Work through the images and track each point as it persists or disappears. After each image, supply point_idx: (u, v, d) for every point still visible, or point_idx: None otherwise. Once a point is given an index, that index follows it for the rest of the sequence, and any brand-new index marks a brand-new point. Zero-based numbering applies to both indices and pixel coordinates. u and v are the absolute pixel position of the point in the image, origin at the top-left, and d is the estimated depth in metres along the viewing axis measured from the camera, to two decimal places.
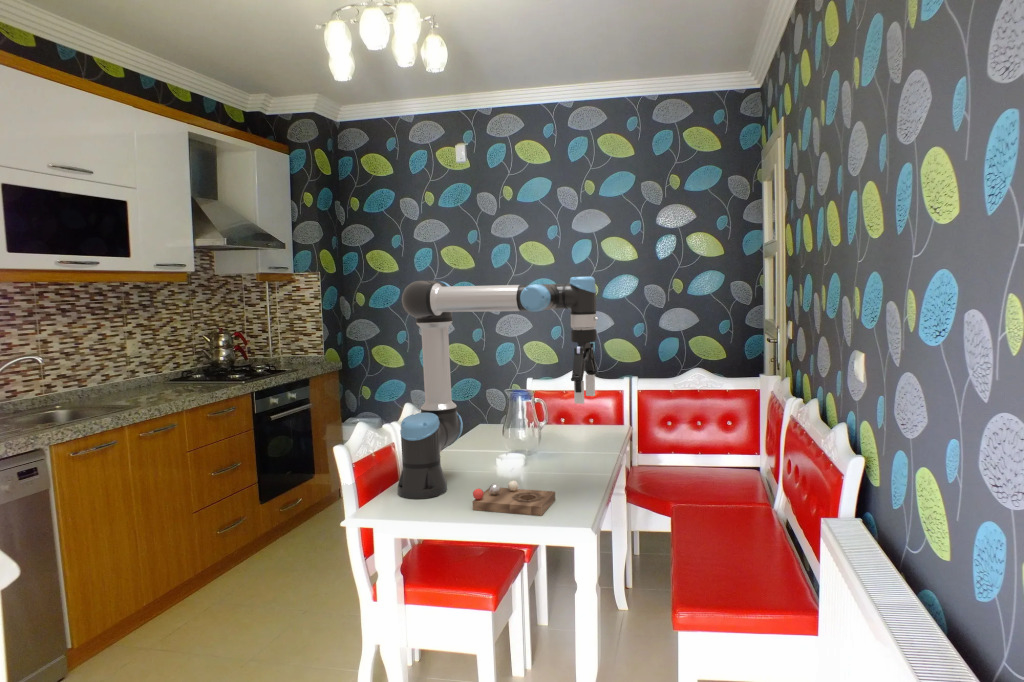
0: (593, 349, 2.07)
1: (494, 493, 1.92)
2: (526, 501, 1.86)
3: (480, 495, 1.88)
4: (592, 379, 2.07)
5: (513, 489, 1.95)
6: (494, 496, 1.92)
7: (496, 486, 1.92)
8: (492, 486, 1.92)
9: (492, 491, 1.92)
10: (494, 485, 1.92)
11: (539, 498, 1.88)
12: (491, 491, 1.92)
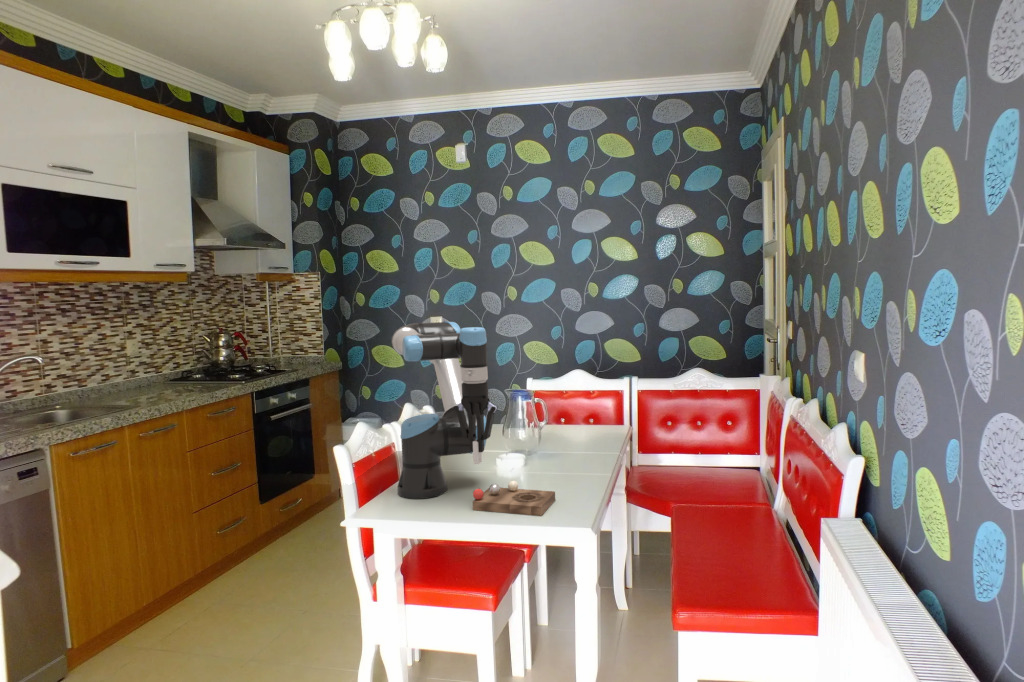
0: (491, 414, 1.90)
1: (494, 493, 1.92)
2: (526, 501, 1.86)
3: (480, 495, 1.88)
4: None
5: (513, 489, 1.95)
6: (494, 496, 1.92)
7: (496, 486, 1.92)
8: (492, 486, 1.92)
9: (492, 491, 1.92)
10: (494, 485, 1.92)
11: (539, 498, 1.88)
12: (491, 491, 1.92)
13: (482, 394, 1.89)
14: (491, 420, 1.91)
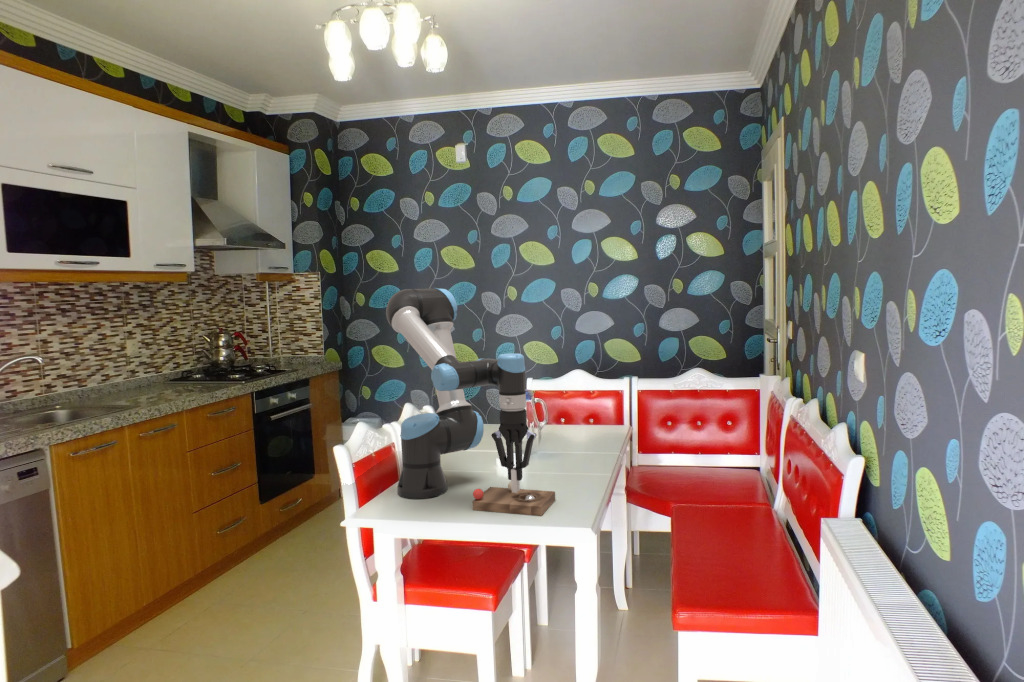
0: (530, 442, 1.87)
1: None
2: (526, 501, 1.86)
3: (480, 495, 1.88)
4: None
5: None
6: (494, 496, 1.92)
7: None
8: None
9: None
10: None
11: (539, 498, 1.88)
12: None
13: (521, 422, 1.86)
14: (530, 448, 1.88)
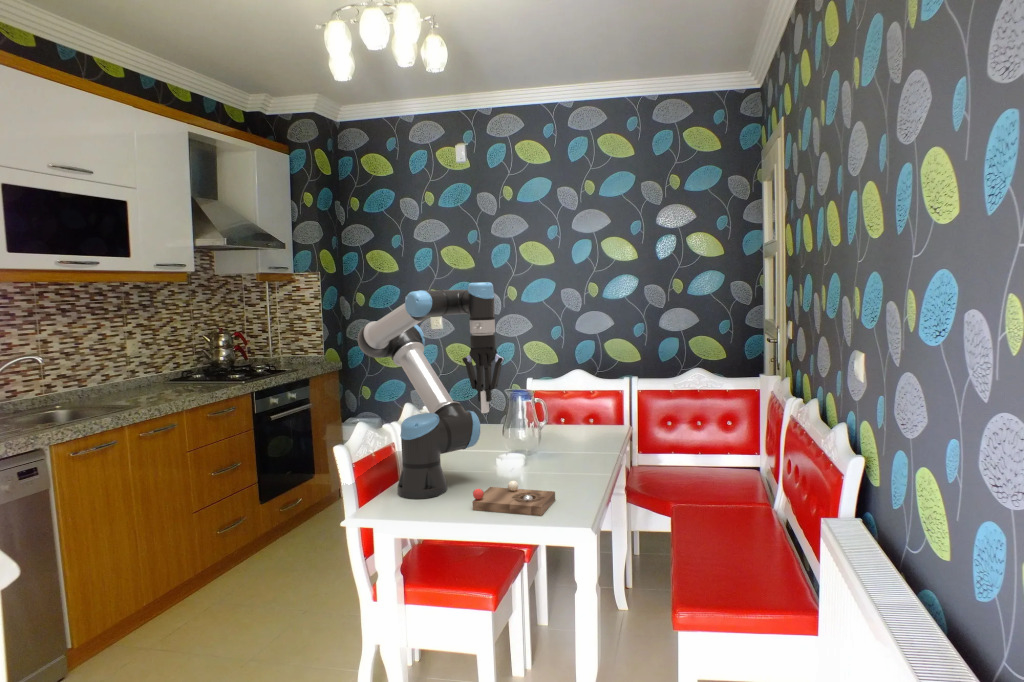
0: (498, 365, 1.99)
1: None
2: (526, 501, 1.86)
3: (480, 495, 1.88)
4: None
5: (513, 489, 1.95)
6: (494, 496, 1.92)
7: None
8: (528, 498, 1.89)
9: None
10: (531, 498, 1.89)
11: (539, 498, 1.88)
12: None
13: (490, 345, 1.98)
14: (498, 371, 2.00)
